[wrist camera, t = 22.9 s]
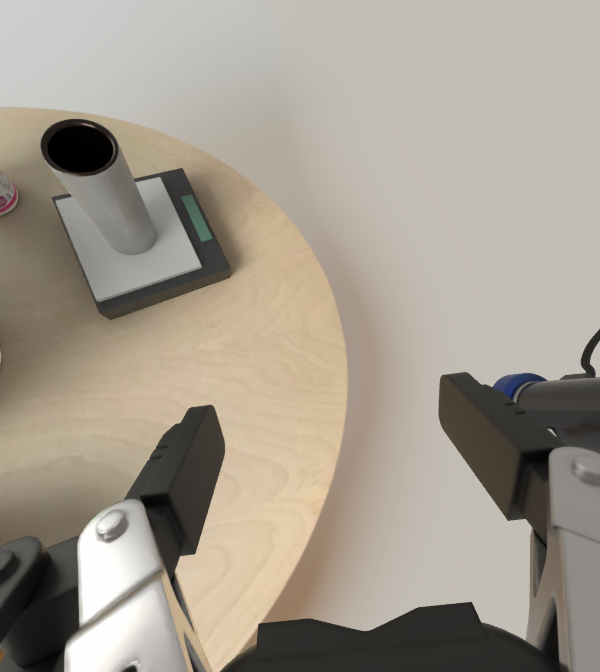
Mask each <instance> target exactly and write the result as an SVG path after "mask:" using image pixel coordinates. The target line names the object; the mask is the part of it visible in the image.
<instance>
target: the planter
mask: <svg viewBox="0 0 600 672" xmlns="http://www.w3.org/2000/svg"><path fill="white" fill-rule="evenodd" d="M40 152H41V155H42V157H43V159H44V160H45V162H46V163H47V164H48V166H49V167H50V168H51V170H52V171H53V172H54V173H55V175H56V176H57V177H58V179H59V180H60V181H61V183H62V184H63V185H64V186H65V188H66V189H67V190H68V192H69V193H70V194H71V196H72V197H73V198H74V199H75V201H76V202H77V203H78V205H79V206H80V207H81V209H82V210H83V211H84V212H85V214H86V215H87V216H88V218H89V219H90V220H91V221H92V223H93V224H94V225H95V227H96V228H97V229H98V231H99V232H100V233H101V234H102V236H103V237H104V238H105V240H106V241H107V242H108V243H109V244H110V246H111V247H112V248H113V249H115V250H116V251H118V252H120V253H123V254H127V255H136V254H141V253H143V252H145V251H147V250H149V249H150V248H151V247H152V246H153V244H154V243H155V240H156V230H155V227H154V224H153V222H152V219H151V217H150V215H149V213H148V210H147V208H146V206H145V204H144V201H143V199H142V197H141V194H140V192H139V190H138V188H137V185H136V183H135V181H134V178H133V176H132V174H131V172H130V169H129V167H128V165H127V163H126V160H125V158H124V156H123V153H122V151H121V149H120V147H119V144H118V142H117V140H116V138H115V137H114V136H113V134H112V133H111V132H110V131H109V130H107V129H106V128H105V127H103V126H102V125H100V124H97V123H95V122H92V121H89V120H84V119H68V120H63V121H60V122H57V123H55V124H53V125H52V126H50V127H49V128H48V129H47V130H46V131H45V132H44V133H43V135H42V137H41V140H40Z"/></svg>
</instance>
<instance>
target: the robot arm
mask: <svg viewBox="0 0 600 672" xmlns="http://www.w3.org/2000/svg"><path fill="white" fill-rule="evenodd" d="M599 341H600V329H599V331H598V332H597V333H596V334H595V335H594V336H593V338H592V339H591V340H590V341H589V343H588V344H587V346H586V348H585V350H584V352H583V354H582V358H581V366H582V368H583V369H584V370H585V371H586V373H583V374H572V375H565V376H564V377H562V378H561V379H560V380H555V381H542V382H539V381H532V382H525V383H522V384H520V385H519V386H517V387H516V389H515V390H514V391H513V393H512V395H511V398H509V397H508V396H507V395H505V394H504V393H503V392H501V391H499V390H497V389H495V388H492V387H490V386H488V385H486V384H485V385H481V384H480V383H479V382H478V381H477V380H475V379H474V378H473V377H472V376H471V375H470V374H468V373H467V372H463V373H454V374H447V375H442V377H441V378H440V390H439V391H440V392H439V419H440V423H441V426H442V428H443V430H444V431H445V433H446V434H447V436H448V437H449V438H450V440H451V441H452V443H453V444H454V445H455V447H456V448H457V450H458V451H459V453H460V454H461V455H462V457H463V458H464V459H465V461H466V462H467V464H468V465H469V467H470V468H471V469H472V471H473V472H474V473H475V475H476V476H477V478H478V479H479V481H480V482H481V483H482V485H483V486H484V488H485V489H486V490H487V492H488V493H489V495H490V496H491V497H492V499H493V500H494V502H495V503H496V505H497V506H498V507H499V509H500V510H501V511H502V513H503V514H504V516H505V517H506V519H507V520H508V521H510V520H518V519H526V520H527V521H528V522H529V524H530V525H531V526H532V530H531V536H530V538H531V539H530V543H531V544H530V608H529V619H528V627H527V636H526V641H525V640H523V639H522V638H520V637H518V636H516V635H514V634H511V633H510V632H508V631H505V630H503V629H501V628H498V627H495V626H492V625H489V624H486V623H481V621H480V619H479V617H478V615H477V612H476V610H475V608H474V606H473V604H472V602H467V603H456V604H446V605H438V606H427V607H418V608H416V609H414V610H412V611H410V612H408V613H406V614H404V615H402V616H399V617H398V618H395V619H393V620H391V621H389V622H387V623H385V624H383V625H381V626H379V627H377V628H375V629H373V630H370V631H360V630H355V629H351V628H347V627H343V626H339V625H335V624H331V623H327V622H322V621H318V620H314V619H299V620H290V621H280V622H271V623H260V624H258V635H257V644H256V645H254V646H252V647H250V648H248V649H247V650H245V651H244V652H242V653H241V654H239V655H238V656H236V657H235V658H234V659H233V660H232V661H230V662H229V663H228V664H227V665H226V666H225V667H224V668H223V669H222V670H221V671H220V672H600V377H595V375H596V373H595V370H594V368H593V367H592V366H591V365H590V358H591V355H592V352H593V350H594V348H595V347H596V345H597V344H598V342H599ZM224 455H225V441H224V437H223V434H222V431H221V427H220V424H219V421H218V417H217V414H216V411H215V408H214V407H213V405H206V406H198V407H191V408H189V409H188V411H187V413H186V414H185V416H184V418H183V420H182V421H181V423H179V424H175V425H174V426H173V427H172V428H171V429H169V430H168V431H167V432H166V433H165V434H164V435H163V436H162V438H161V440H160V441H159V443H158V445H157V446H156V450H154V451H153V453H152V454H151V456H150V460H148V461H147V463H146V464H145V466H144V467H143V469H142V471H141V472H140V474H139V476H138V477H137V479H136V481H135V482H134V484H133V485H132V487H131V489H130V490H129V492H128V494H127V495H126V497H125V499H124V500H122V501H119V502H117V503H114V504H112V505H110V506H109V507H107V508H106V509H104V510H103V511H101V512H100V513H99V514H97V515H96V516H95V517H94V518H93V519H92V520H91V521H90V522H89V523H88V525H87V526H86V527H85V528H84V530H83V532H82V533H81V535H79V536H76V537H74V538H71V539H69V540H66V541H64V542H61V543H59V544H56V545H54V546H51V547H49V548H46V549H45V547H44V546H43V545H42V543H41V542H40V541H39V539H38V538H36V537H32V536H28V537H23V538H19V539H16V540H14V541H12V542H9V543H7V544H5V545H4V546H2V547H0V649H1V650H2V651H3V652H4V653H5V656H4V658H3V659H2V661H1V662H0V672H212V669H211V667H210V664H209V662H208V659H207V657H206V655H205V652H204V650H203V647H202V645H201V642H200V639H199V637H198V634H197V631H196V628H195V625H194V622H193V619H192V616H191V613H190V610H189V607H188V604H187V601H186V599H185V596H184V593H183V590H182V587H181V584H180V581H179V578H178V575H177V573H176V571H175V569H176V566H177V563H178V560H179V557H180V556H184V555H193V554H195V553H196V550H197V546H198V543H199V540H200V536H201V533H202V529H203V526H204V523H205V519H206V516H207V513H208V509H209V506H210V503H211V499H212V496H213V493H214V489H215V486H216V483H217V479H218V476H219V473H220V469H221V466H222V463H223V459H224Z"/></svg>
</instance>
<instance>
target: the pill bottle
mask: <svg viewBox="0 0 600 672" xmlns="http://www.w3.org/2000/svg"><path fill="white" fill-rule="evenodd" d="M17 202H18V191H17V189H16V187H15V186H14V184H13V183H12V182H11V181H10V180H9V179H8V178H7V177H6V176H5V175H4V174H3V173H2V172H1V171H0V215H3V214H6V213H8V212H10V211H11V210H12V209H13V208H14V207H15V206H16V204H17Z"/></svg>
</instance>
